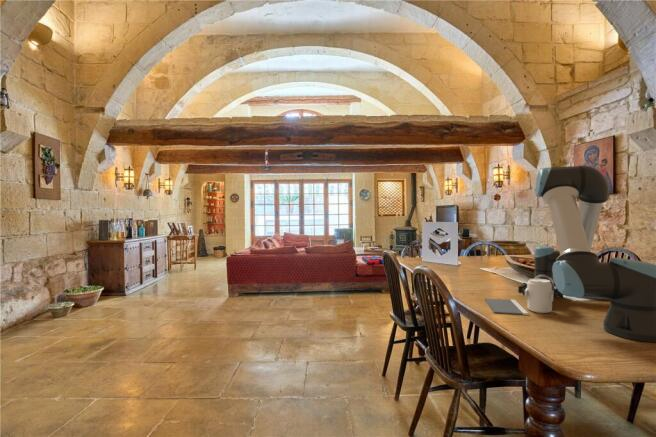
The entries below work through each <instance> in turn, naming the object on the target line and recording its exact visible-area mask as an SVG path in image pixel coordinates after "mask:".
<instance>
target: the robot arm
mask: <svg viewBox="0 0 656 437" xmlns="http://www.w3.org/2000/svg"><path fill="white" fill-rule="evenodd" d="M538 170H539V169H538ZM535 180H536V181H535V188H534V189H535V190H534V191H535V192H534V195H535V196H536V197H537V198H542V202H543V203H544V204H546V205H547V206H548V207H549V212H550V216H551V221H552V225H553V229H554V235H555V239H556V243H557V246H558V250H555V248H554V247H553V246H544V245H541V246H539V245H538V246H535V248H534V255H533V258H534V259H533V260H534V278H536V279H546V280H549V281H550V283H551V284H552V292H551V301H552V302H554V299H558V297H559V298H560V299H562V298H563V299H564V297H565V296H566V297H570V298H571V297H572V298H575V299H576V298H577V299H581V298H583V299H593V298H600V299H599V300H609V303H610V304H609V308H608V311H607V313H606V315H605V316H604V317H605V318H604V319H603V323H602V327H603V330H604V331H605V332H607V333H609V334H612V335H615V336H617V337H621V338H623V339H629V340H633V341H640V342H648V343H656V264H655V263H651V262H647V261H643V260H642V261H641V260H637V259H635V260H634V259H630V258H629V259H628V258H622V257H611V258H609V262H607V261H606V262H603V261H602V262H601V261H600V258H599V256H598V254H597V253H596V252H594V251H591V250H592V245H593V242H594V239H595V235H596V231H597V226H598V224H599V219H600V216H601V212H602V208H603V205H604V203H607V202H608V198H609V195H610V187H609V183H608V180H607V178H606V176H605V175H604V174H603V173H602V172H601V171H600V170H599V169H597V168H596V167H593V166H590V165H571V166H550V167H543V168H540V170H539V171H538V172H537V176H536V179H535ZM576 200H579V201H578V203H577V201H576ZM554 285H555V286H554ZM517 289H518V293H519V294H522V295H523V296H524V299H527V297H528V289H527V282H523V283H522V284H521V285H519V286H518V288H517Z"/></svg>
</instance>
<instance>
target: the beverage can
mask: <svg viewBox="0 0 656 437" xmlns="http://www.w3.org/2000/svg"><path fill="white" fill-rule="evenodd" d="M526 284H527V289H528V297H527V298H526V299H527V300H526V302H527V305H526V306H527V309H528V310H530V311H531V312H533V313H537V314H549V313H551V312H552V311H553V301H551V292H552V284H551V283H550V281H549V280H546V279H536V278H535V277H534V278H529V279H528V281H527V282H526Z"/></svg>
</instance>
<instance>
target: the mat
mask: <svg viewBox="0 0 656 437" xmlns="http://www.w3.org/2000/svg"><path fill="white" fill-rule="evenodd" d="M484 301H485V302H486V304H487V305H488V306H489V308H490V310H491V311H492V312H493V314H504V315H517V316H529V312H528V311H527V310H526V309H525V308H524V307H523V306H522V305H521V304H520V303H519V302H518V301H517V300H516V299H505V298H504V299H503V298H484Z"/></svg>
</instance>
